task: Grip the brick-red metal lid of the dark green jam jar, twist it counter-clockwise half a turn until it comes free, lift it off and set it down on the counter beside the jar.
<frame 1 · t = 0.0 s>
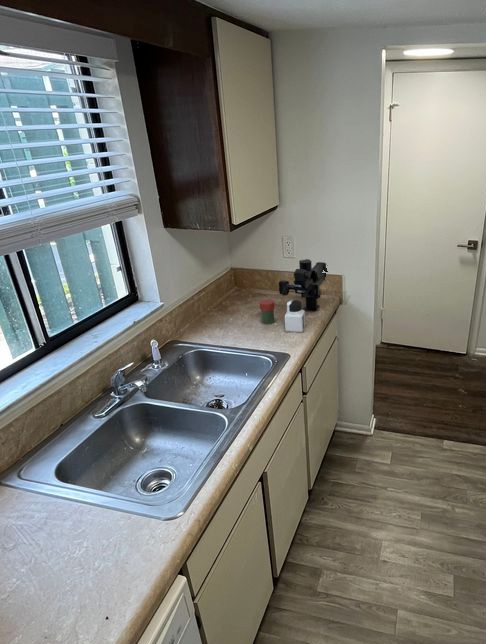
hand: (292, 295, 190), 17 cm above the worktop, tool horizontal, fingers open, 9 cm apart
jar lid: (266, 302, 201), point 10 cm above the worktop, screwed on, not yet turned
container: (295, 328, 198), on the worktop
jam jar: (268, 321, 205), on the worktop
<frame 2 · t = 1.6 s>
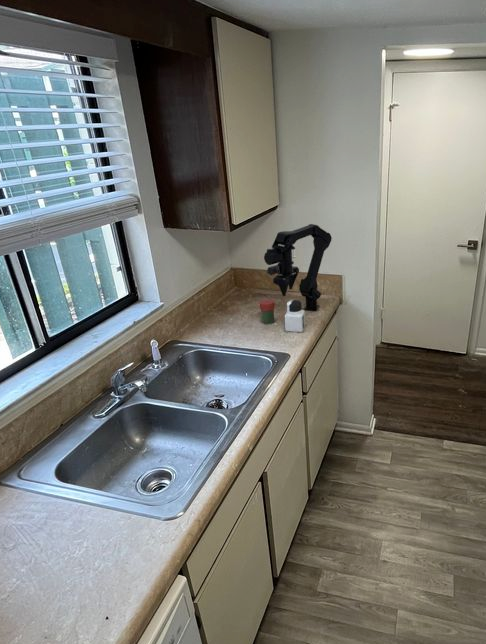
hand: (287, 292, 203), 13 cm above the worktop, tool pointing down, fingers open, 9 cm apart
nothing on the worktop moved.
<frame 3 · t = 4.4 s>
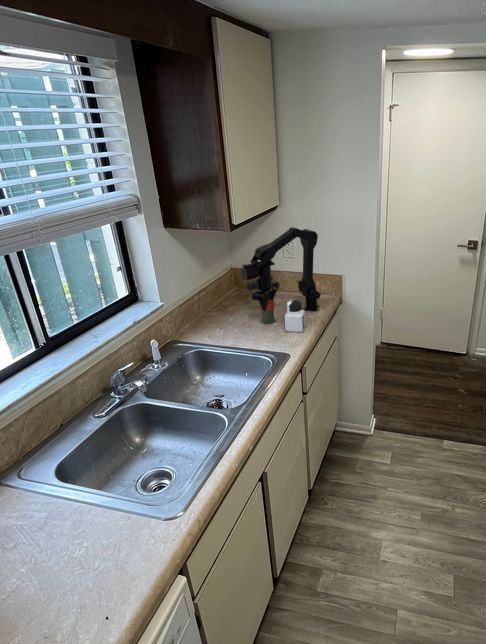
hand: (267, 307, 202), 7 cm above the worktop, tool pointing down, fingers closed on jar lid, 6 cm apart
jar lid: (266, 302, 201), point 10 cm above the worktop, screwed on, not yet turned, touching gripper
everything else where it was.
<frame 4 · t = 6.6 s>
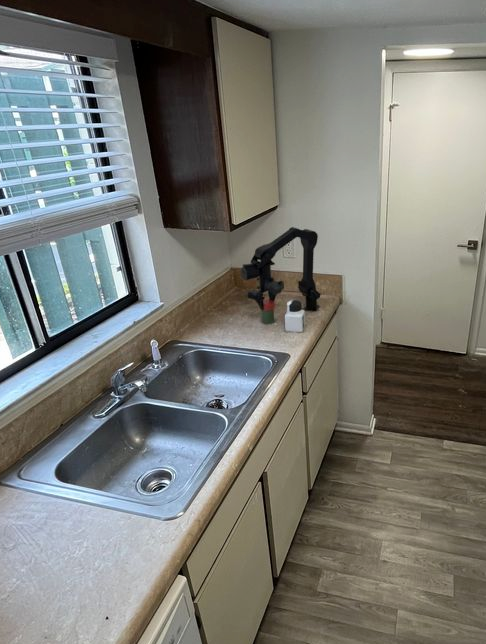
hand: (267, 307, 202), 7 cm above the worktop, tool pointing down, fingers closed on jar lid, 6 cm apart
jar lid: (266, 302, 201), point 10 cm above the worktop, off its thread, touching gripper
everything else where it was.
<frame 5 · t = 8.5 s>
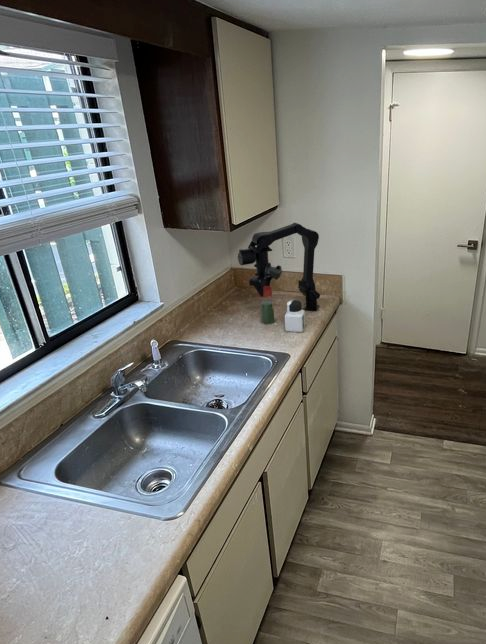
hand: (264, 294, 202), 13 cm above the worktop, tool pointing down, fingers closed on jar lid, 6 cm apart
jar lid: (264, 288, 201), point 16 cm above the worktop, off its thread, touching gripper
everything else where it was.
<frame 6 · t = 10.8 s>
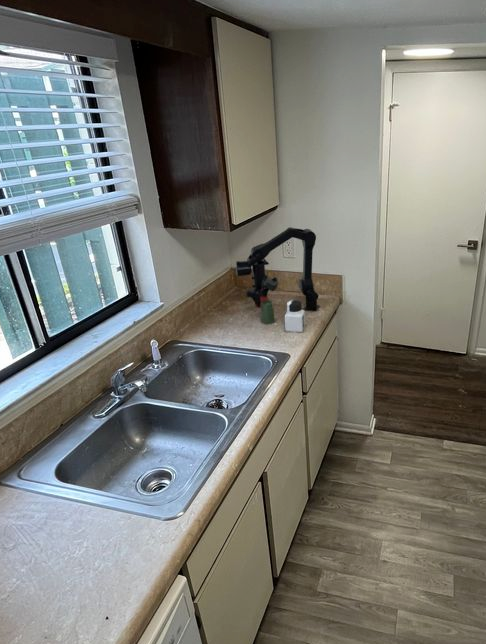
hand: (261, 304, 211), 5 cm above the worktop, tool pointing down, fingers closed on jar lid, 6 cm apart
jar lid: (261, 299, 210), point 8 cm above the worktop, off its thread, touching gripper
everything else where it was.
when the fingers open (0 cm above the worktop, at t = 12.6 s): jar lid stays where it is, point 3 cm above the worktop.
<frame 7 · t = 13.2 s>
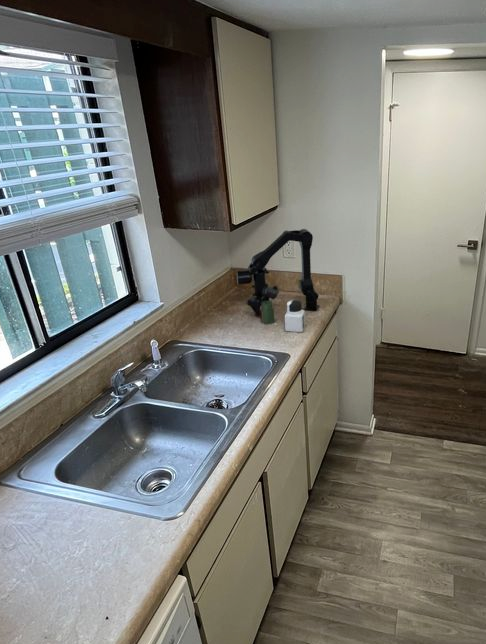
hand: (262, 312, 212), 1 cm above the worktop, tool pointing down, fingers open, 9 cm apart
jar lid: (262, 308, 211), point 3 cm above the worktop, off its thread
everything else where it was.
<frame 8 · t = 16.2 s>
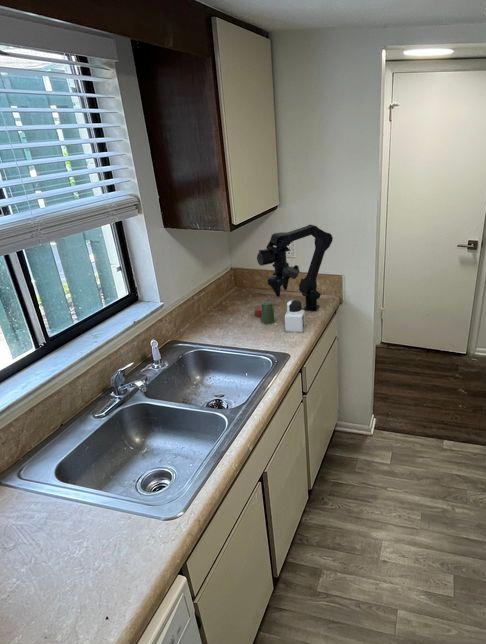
hand: (282, 293, 205), 12 cm above the worktop, tool pointing down, fingers open, 9 cm apart
nothing on the worktop moved.
at the end: jar lid came off its thread; jar lid point 2.9 cm above the worktop; the gripper is holding nothing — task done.
